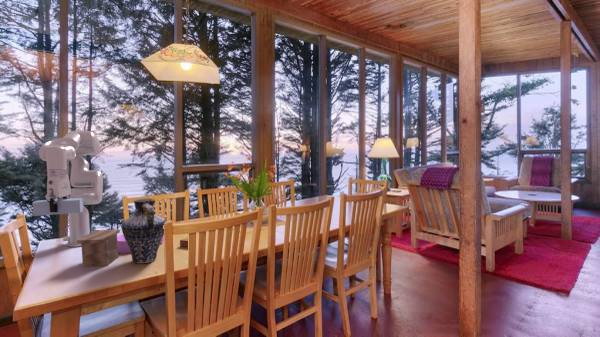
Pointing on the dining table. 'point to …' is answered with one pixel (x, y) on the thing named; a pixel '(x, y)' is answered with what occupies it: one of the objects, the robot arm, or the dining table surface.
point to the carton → (184, 242)
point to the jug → (143, 231)
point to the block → (63, 206)
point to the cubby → (99, 248)
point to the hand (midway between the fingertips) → (59, 209)
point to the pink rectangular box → (125, 244)
